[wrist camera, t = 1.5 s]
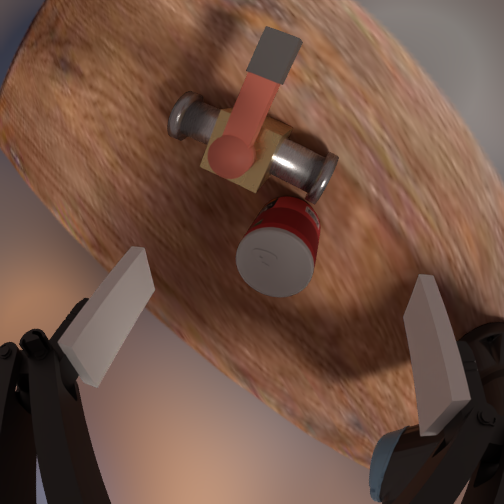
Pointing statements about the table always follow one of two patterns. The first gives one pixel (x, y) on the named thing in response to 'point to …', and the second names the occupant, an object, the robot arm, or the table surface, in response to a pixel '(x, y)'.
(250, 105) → the lever
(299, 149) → the valve pipe
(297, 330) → the table surface
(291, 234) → the canned food
